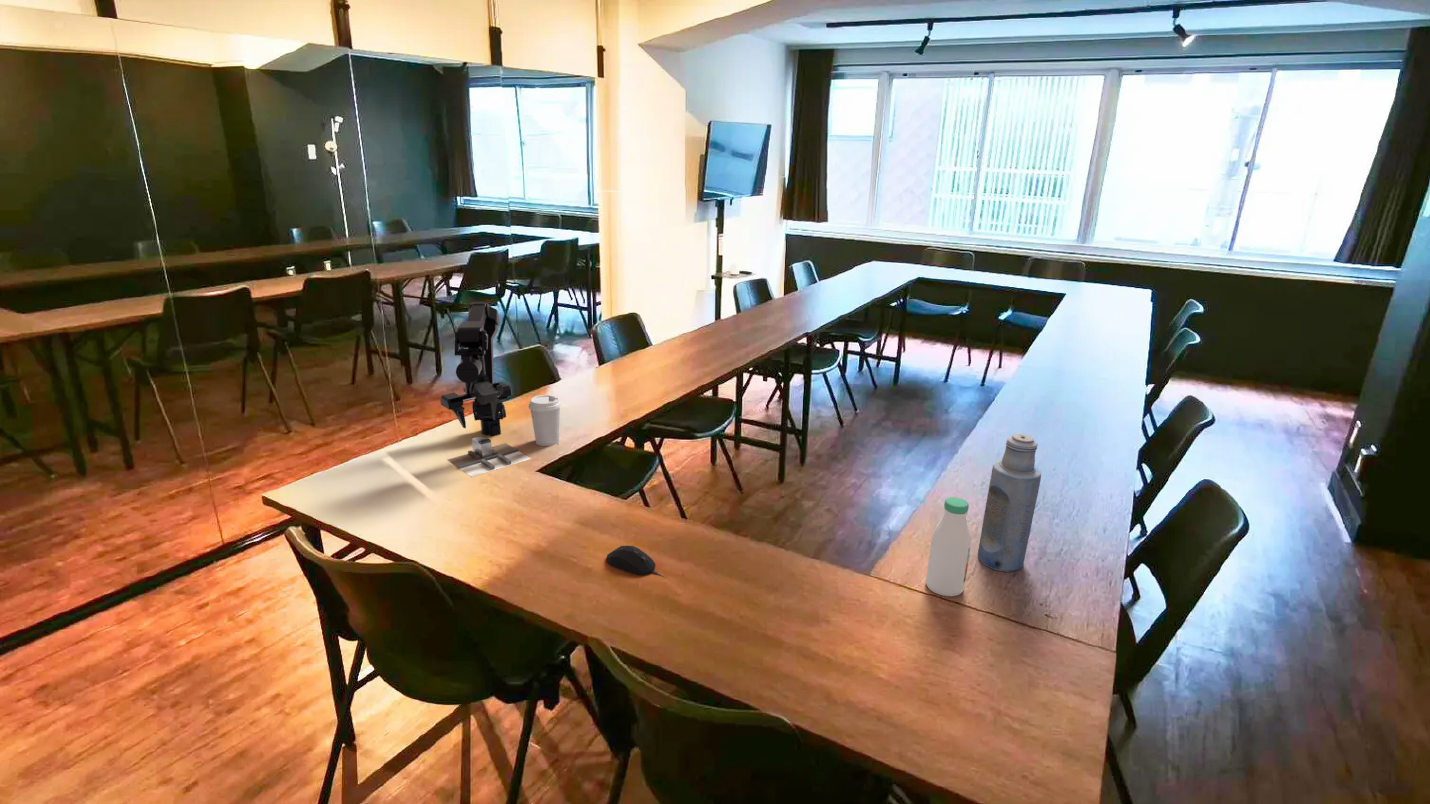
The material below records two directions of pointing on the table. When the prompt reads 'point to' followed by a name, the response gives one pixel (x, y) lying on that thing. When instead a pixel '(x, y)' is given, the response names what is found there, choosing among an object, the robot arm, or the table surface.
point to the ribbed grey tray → (489, 460)
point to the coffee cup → (545, 419)
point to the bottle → (1010, 506)
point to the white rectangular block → (482, 447)
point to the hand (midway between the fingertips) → (479, 423)
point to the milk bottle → (949, 550)
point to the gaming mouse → (631, 560)
